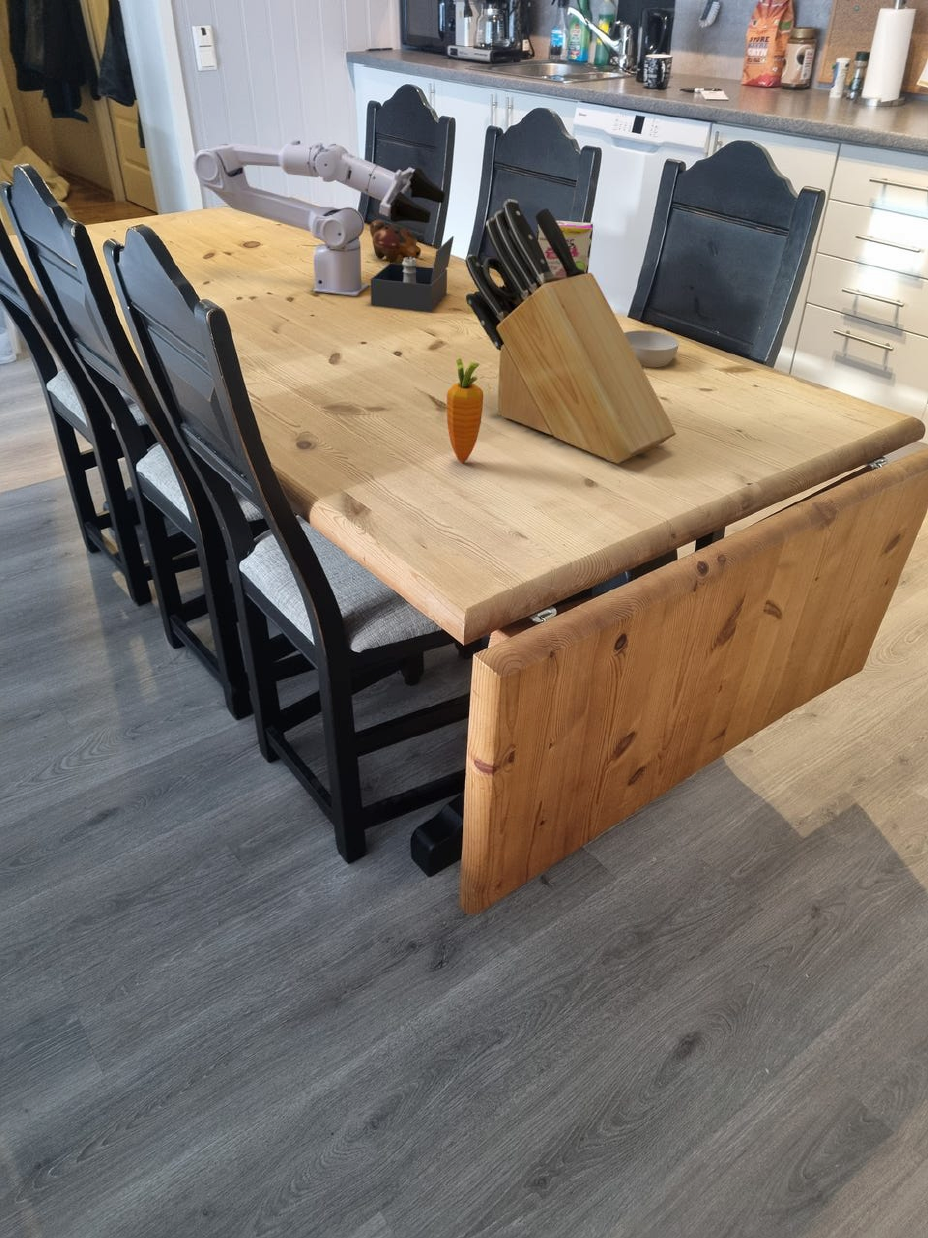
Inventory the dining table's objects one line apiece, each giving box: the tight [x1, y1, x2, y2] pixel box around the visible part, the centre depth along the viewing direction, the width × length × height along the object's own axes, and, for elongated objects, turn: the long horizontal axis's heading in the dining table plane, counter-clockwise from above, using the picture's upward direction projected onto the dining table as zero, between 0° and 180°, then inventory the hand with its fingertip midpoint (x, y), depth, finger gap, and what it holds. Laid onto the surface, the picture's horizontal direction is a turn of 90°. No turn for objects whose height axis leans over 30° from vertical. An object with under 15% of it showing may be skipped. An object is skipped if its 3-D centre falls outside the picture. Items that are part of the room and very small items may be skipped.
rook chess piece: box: [401, 257, 419, 284], centre depth 191 cm, size 4×4×8 cm
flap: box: [431, 235, 455, 282], centre depth 187 cm, size 6×12×1 cm
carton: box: [370, 262, 448, 313], centre depth 192 cm, size 13×13×5 cm
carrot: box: [446, 357, 484, 464], centre depth 127 cm, size 5×5×15 cm
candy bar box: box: [536, 219, 594, 279], centre depth 189 cm, size 11×5×16 cm, turn 84°
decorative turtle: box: [369, 219, 422, 264], centre depth 216 cm, size 10×15×8 cm, turn 54°
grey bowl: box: [624, 329, 680, 368], centre depth 169 cm, size 11×18×4 cm, turn 65°
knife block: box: [464, 198, 677, 464], centre depth 135 cm, size 11×35×31 cm, turn 45°
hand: (436, 207), depth 183 cm, fingers open, 7 cm apart
